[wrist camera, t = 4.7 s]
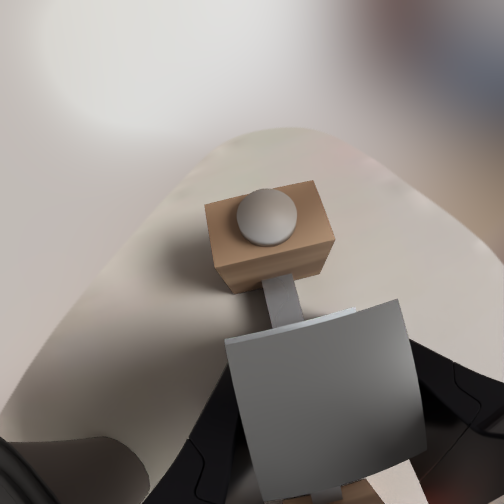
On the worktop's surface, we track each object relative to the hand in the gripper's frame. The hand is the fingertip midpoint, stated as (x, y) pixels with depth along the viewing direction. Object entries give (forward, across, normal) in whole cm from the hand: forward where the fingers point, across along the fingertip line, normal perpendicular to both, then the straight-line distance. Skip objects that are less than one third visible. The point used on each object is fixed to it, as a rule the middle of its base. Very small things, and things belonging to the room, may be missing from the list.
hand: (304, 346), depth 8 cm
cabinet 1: (+8, 0, +1) cm, 8 cm away
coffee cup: (0, +13, +10) cm, 16 cm away
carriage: (+4, 0, +6) cm, 7 cm away
